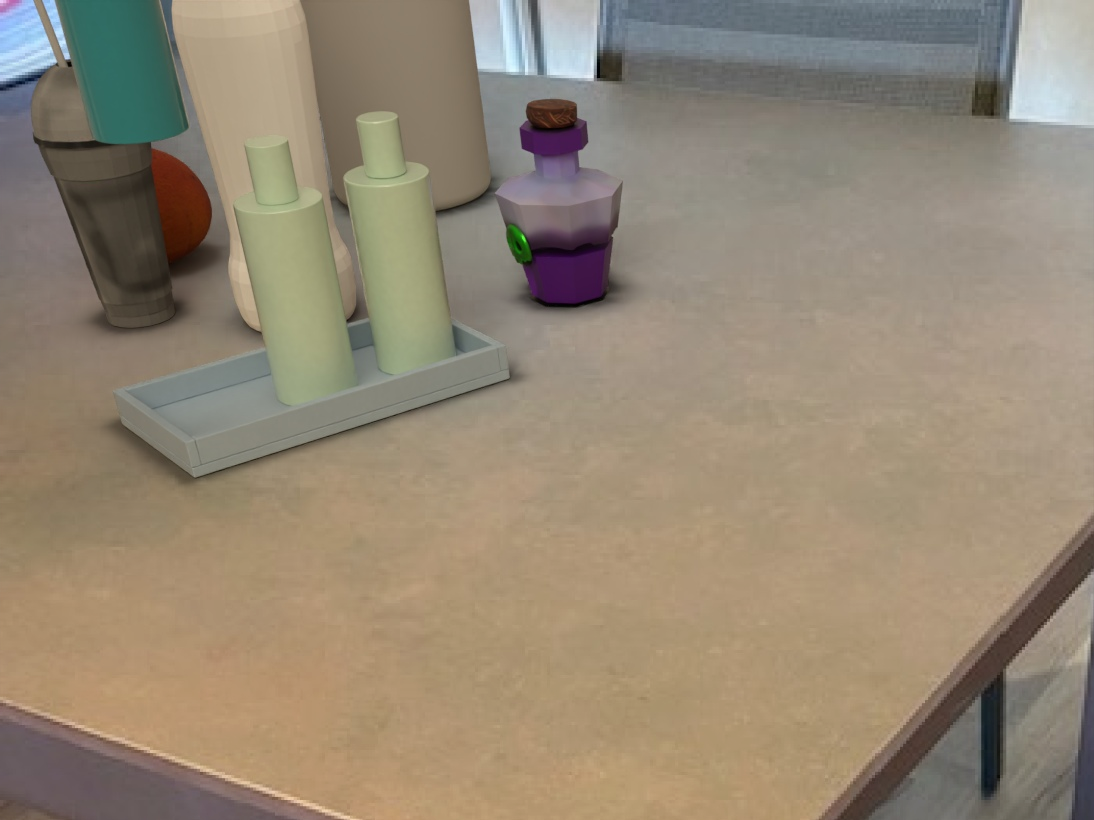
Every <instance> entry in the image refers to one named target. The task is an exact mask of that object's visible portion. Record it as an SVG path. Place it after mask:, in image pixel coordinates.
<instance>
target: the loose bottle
mask: <svg viewBox="0 0 1094 820" xmlns="http://www.w3.org/2000/svg"><path fill="white" fill-rule="evenodd" d="M54 3H55V7H56V11H57V14H58V18H59V23H60V26H61V30H62V33H63V36H64V40H65V44H66V48H67V52H68V55H69V60H70V59H71V63H72V66H73V70H74V74H75V77H76V81H77V85H78V88H79V92H80V96H81V99H82V103H83V107H84V110H85V114H86V118H87V121H88V125H89V129H90V132H91V136H92V138H93V139H94V140H96V141H99V142H102V143H108V144H139V143H148V142H151V143H153V142H159V141H164V140H167V139H170V138H174V137H177V136H180V135H182V134H183V133H186V131H188V130H189V129H190V121H189V117H188V113H187V112H188V111H187V108H186V105H185V100H184V95H183V90H182V87H181V83H180V82H181V81H180V78H179V74H178V73H179V72H178V68H177V66H176V60H175V57H174V53H173V47H172V44H171V40H170V35H169V31H168V27H167V23H166V19H165V14H164V11H163V5H162V2H161V0H54Z"/></svg>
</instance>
